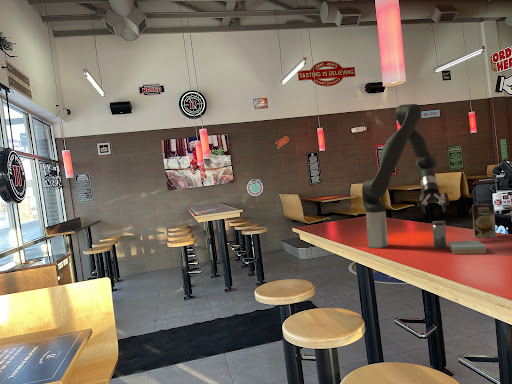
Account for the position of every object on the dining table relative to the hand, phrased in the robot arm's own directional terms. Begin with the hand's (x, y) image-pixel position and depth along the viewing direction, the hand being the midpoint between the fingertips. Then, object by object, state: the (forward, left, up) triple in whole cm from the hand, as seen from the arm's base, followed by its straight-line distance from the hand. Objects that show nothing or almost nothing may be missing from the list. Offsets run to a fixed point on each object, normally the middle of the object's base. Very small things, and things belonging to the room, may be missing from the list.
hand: (434, 211), depth 182 cm
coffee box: (+23, +12, -15) cm, 30 cm away
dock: (+9, -20, -15) cm, 27 cm away
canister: (0, -11, -15) cm, 19 cm away
